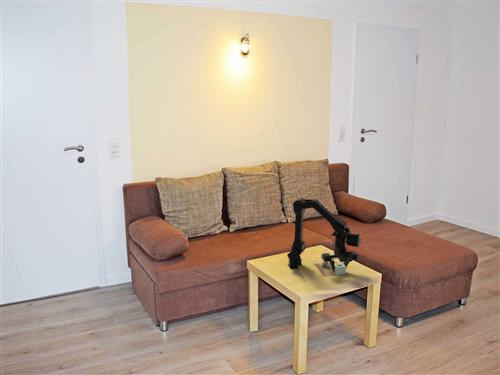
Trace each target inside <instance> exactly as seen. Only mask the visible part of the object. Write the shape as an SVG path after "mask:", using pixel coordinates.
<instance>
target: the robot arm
mask: <svg viewBox="0 0 500 375" xmlns="http://www.w3.org/2000/svg"><path fill="white" fill-rule="evenodd" d="M292 208H293V209H292V210H293V213H294V215H295V216H294V238H293V239H294V240H293V242H292V245H291V249H290V250H291V251H290V252H288V253H287V254H286V256H287V258H288V263H287V266H288V267H289V269H290V270H291V269H293V270H294V269H299V266H302V258H301V257H302V256H301V255H302V254H303V253H304V252H305V250H306V249H307V247H306V246H307V245H306V244H307V242H306V241H304V240H303V237H304V236H303V234H304V233H303V232H304V215H305V212H306V209H314V211H316V212H317V214H319V215H320V216H321V217H323V218H324V219H325V221H327V222H328V223H329V225H330V227H331V228H332V229H333V232H332V233H331V235H330V236H332V237H334V244H333V247H334V249H333V250H334V251H333V254H330V253H329V252H326V253H324V252H323V253H321V259H322V261H325V262H328V263H330V264H331V267H332V270H333V272H334V271H335V266H334V263H335V262H336V261H335V259H338V261H339V263H343V264H344V265H345V266H346V269H347V268H348V265H349V263H352V262H353V261H357V260H358V259H359V257H358V256H359V255H358V254H357V253H356V252H355V251H347V247H346V246H349V247H355V248H360V245H361V241H362V240H361V236H360V235H361V234H360V233H352V231H351V230H350V228H349V226H348V223H347V222H346V220H344V219H342V218H340V217H337V216H336V215H335V214H333V213H332V212H331V211H330V210H328V208H327V207H325V206H324V205H323V204H322V203H321V202H320V201H319V200H318V199H311V198H310V199H308V198H307V199H305V198H303V197H300V198H298V199H296V200H294V202H293V203H292Z"/></svg>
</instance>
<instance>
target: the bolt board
mask: <svg viewBox="0 0 500 375" xmlns="http://www.w3.org/2000/svg"><path fill="white" fill-rule="evenodd" d="M335 263H338V262H336V261H335ZM335 263H334V264H335ZM313 265H314V266H315V268H317V270H318V271H319V273H321V275H322V276H323V277H333V276H348V275H349V273H348V272H347V271H346V274H337V275H336V274H335V273H334V272H333V271H332V267H331V264H330V262H325V261H323V260H322V261H321V262H320V263H313Z"/></svg>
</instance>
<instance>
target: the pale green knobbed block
mask: <svg viewBox="0 0 500 375" xmlns="http://www.w3.org/2000/svg"><path fill="white" fill-rule="evenodd" d="M343 263H344V262H337V263H335V264H334V266H335V271H334V273H335V274H336V275H337V274H346V272H347V268H346V266H345V265H344V264H343ZM332 271H333V270H332ZM337 276H338V275H337Z"/></svg>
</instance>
